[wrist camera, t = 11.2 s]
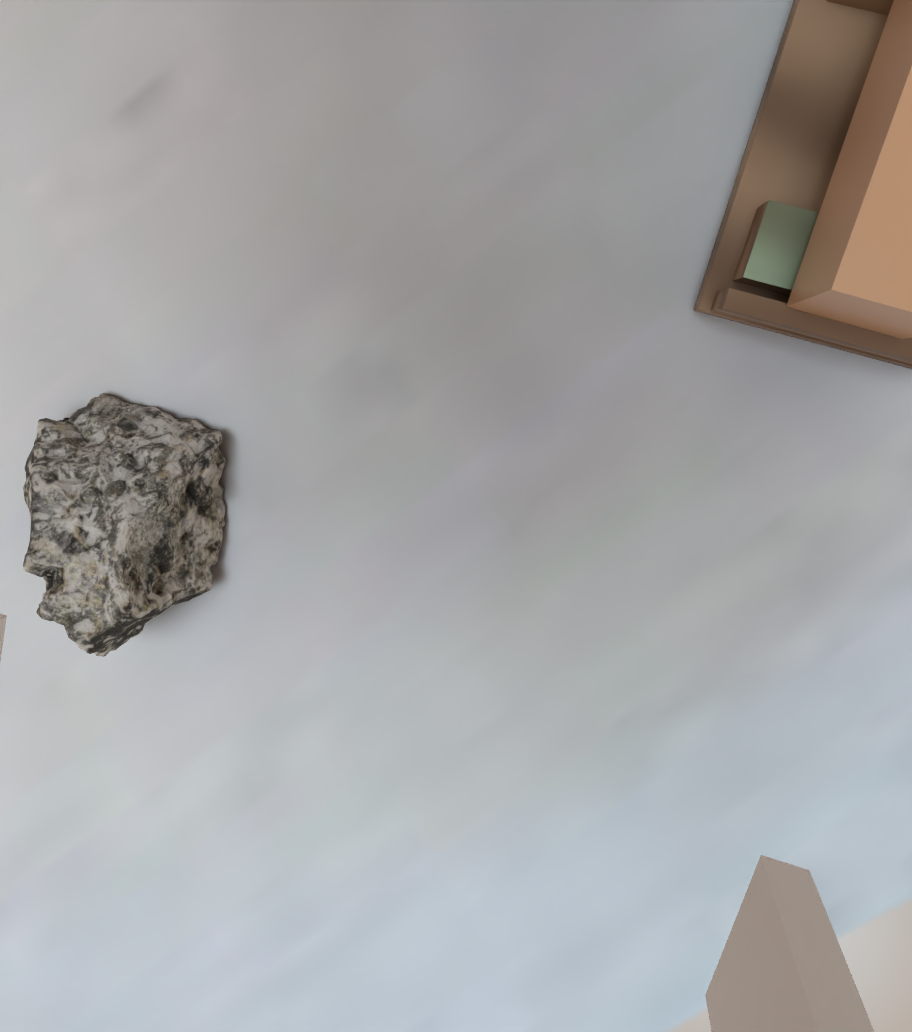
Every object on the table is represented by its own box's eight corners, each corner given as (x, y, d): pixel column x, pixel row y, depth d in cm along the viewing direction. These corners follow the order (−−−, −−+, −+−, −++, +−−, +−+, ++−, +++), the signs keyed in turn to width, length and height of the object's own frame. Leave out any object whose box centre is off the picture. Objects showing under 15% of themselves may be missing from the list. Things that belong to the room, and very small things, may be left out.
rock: (257, 642, 48) (261, 602, 39) (70, 686, 45) (26, 653, 36) (211, 428, 51) (205, 344, 42) (34, 455, 48) (-15, 372, 39)
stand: (828, -107, 35) (871, -185, 30) (1080, -52, 34) (1170, -122, 29) (693, 310, 39) (709, 307, 34) (914, 369, 38) (966, 376, 33)
